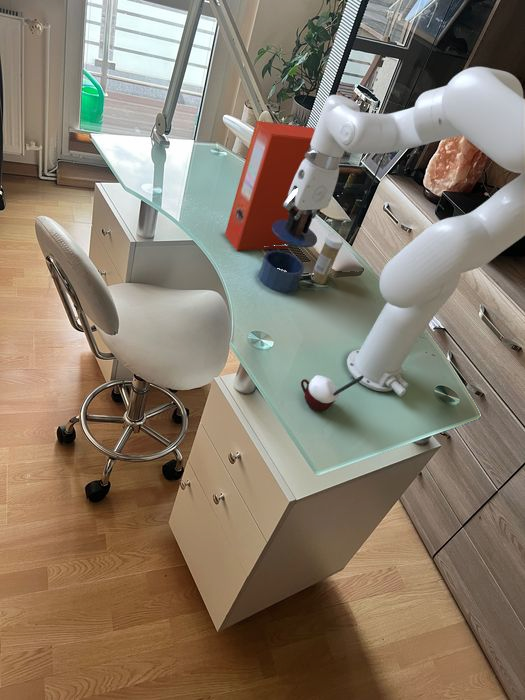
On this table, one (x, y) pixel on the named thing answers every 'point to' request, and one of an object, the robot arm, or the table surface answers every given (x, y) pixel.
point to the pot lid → (299, 237)
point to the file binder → (266, 184)
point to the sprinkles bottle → (327, 258)
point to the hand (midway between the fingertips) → (296, 230)
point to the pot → (278, 278)
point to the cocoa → (323, 391)
